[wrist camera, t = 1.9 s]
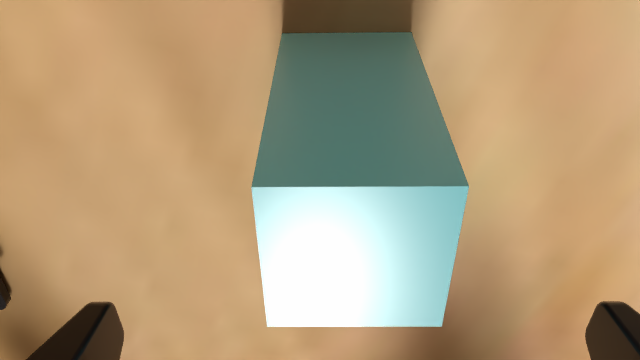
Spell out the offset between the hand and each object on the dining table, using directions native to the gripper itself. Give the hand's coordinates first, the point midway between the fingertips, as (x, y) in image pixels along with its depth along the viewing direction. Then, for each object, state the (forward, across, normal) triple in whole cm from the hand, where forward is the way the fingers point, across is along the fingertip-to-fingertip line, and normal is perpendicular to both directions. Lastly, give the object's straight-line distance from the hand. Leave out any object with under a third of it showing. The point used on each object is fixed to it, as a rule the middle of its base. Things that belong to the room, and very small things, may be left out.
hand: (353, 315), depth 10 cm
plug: (+9, 0, 0) cm, 9 cm away
